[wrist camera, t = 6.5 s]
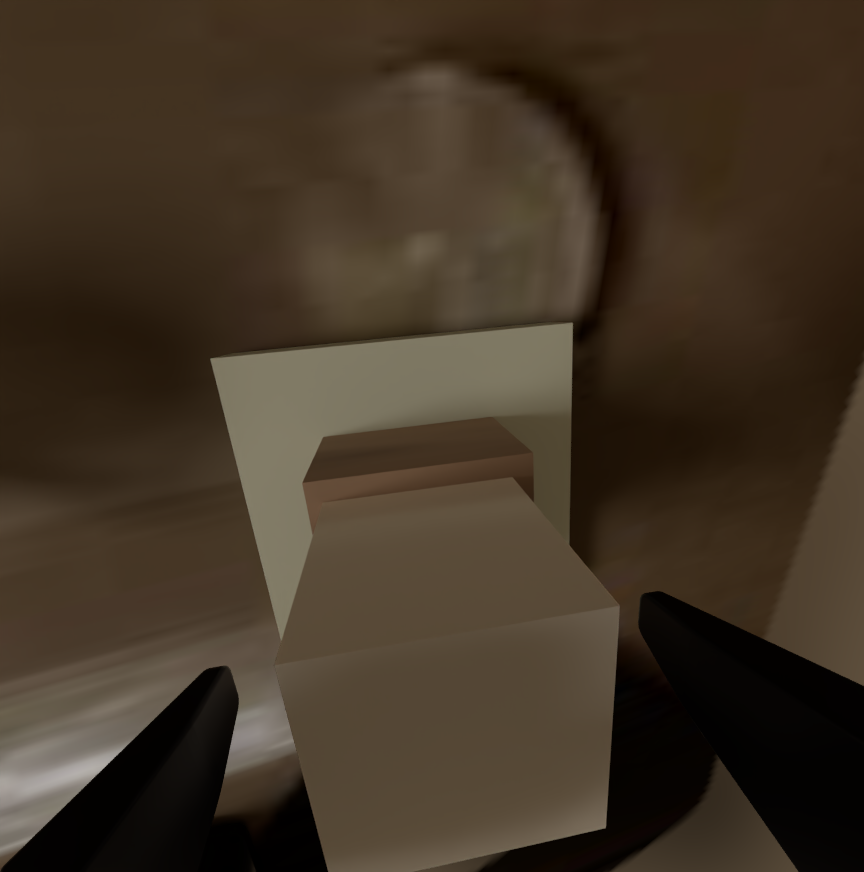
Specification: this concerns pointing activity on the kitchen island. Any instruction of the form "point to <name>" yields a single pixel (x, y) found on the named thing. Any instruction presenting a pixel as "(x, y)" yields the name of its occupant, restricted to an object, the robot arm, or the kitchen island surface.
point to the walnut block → (414, 461)
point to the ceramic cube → (447, 678)
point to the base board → (388, 417)
